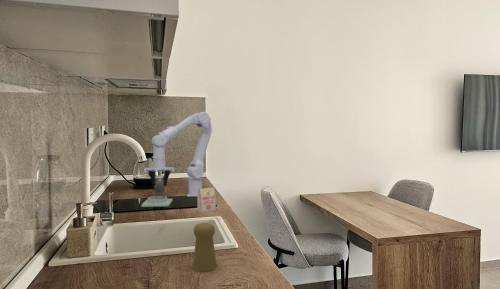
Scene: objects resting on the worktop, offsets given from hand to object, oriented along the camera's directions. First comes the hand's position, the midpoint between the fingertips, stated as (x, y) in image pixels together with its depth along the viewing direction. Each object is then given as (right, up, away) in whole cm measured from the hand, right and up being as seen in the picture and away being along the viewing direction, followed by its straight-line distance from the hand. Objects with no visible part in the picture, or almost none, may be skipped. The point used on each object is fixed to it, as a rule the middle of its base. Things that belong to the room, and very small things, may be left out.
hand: (159, 186), depth 173 cm
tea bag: (+27, -8, -27) cm, 39 cm away
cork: (+34, -10, -87) cm, 94 cm away
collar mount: (+2, -7, -11) cm, 13 cm away
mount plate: (+2, -7, -11) cm, 13 cm away
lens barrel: (0, -3, 0) cm, 3 cm away
